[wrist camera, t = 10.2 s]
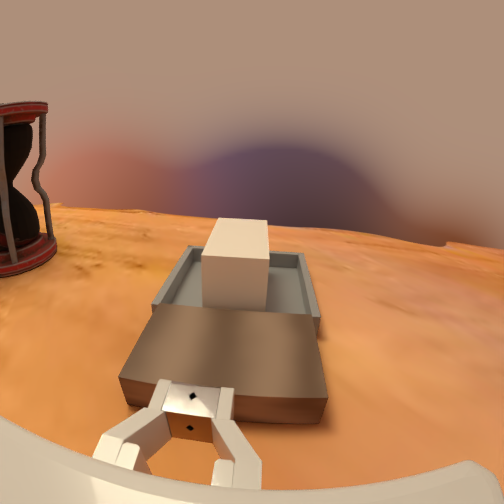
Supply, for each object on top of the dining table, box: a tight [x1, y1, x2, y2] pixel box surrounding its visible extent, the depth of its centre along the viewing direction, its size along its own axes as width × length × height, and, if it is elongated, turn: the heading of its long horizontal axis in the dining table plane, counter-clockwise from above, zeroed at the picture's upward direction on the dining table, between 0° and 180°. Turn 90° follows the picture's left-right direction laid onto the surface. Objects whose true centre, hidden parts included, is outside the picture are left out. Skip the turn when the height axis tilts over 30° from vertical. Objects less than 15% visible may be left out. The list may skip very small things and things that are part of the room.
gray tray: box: [151, 246, 321, 338], centre depth 35 cm, size 16×16×2 cm
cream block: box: [201, 218, 270, 312], centre depth 34 cm, size 6×7×12 cm
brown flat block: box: [118, 303, 328, 424], centre depth 23 cm, size 14×10×3 cm
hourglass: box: [0, 101, 57, 277], centre depth 35 cm, size 16×16×25 cm
